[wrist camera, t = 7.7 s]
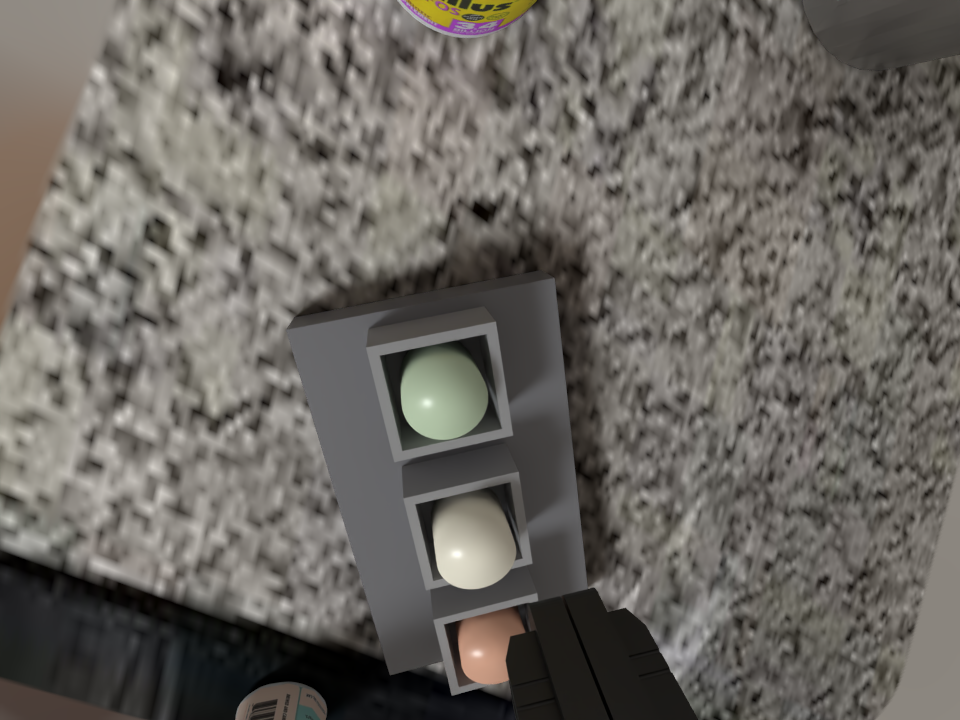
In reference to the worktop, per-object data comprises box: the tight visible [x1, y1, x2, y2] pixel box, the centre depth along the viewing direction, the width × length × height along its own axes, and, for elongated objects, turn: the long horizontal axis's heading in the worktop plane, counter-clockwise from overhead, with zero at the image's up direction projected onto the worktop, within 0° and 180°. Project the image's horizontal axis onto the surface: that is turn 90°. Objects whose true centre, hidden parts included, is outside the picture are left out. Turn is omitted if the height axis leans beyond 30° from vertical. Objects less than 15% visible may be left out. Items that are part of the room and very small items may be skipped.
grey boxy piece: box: [286, 270, 588, 695], centre depth 24 cm, size 11×19×4 cm, turn 9°
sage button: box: [400, 341, 488, 440], centre depth 21 cm, size 3×3×3 cm
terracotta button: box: [455, 605, 525, 684], centre depth 25 cm, size 3×3×3 cm
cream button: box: [431, 487, 516, 589], centre depth 22 cm, size 3×3×3 cm
